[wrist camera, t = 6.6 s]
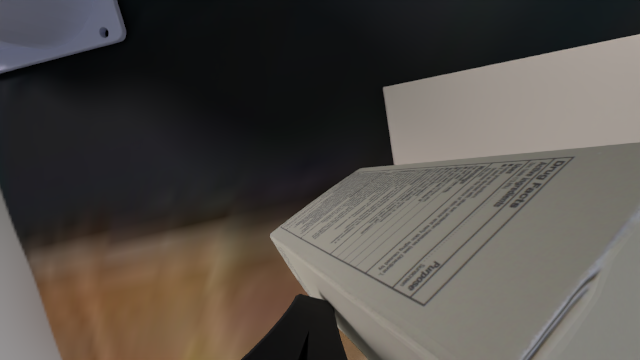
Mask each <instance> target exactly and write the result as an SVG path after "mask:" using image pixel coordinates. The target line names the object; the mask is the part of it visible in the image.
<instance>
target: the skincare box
mask: <svg viewBox="0 0 640 360" xmlns="http://www.w3.org/2000/svg"><path fill="white" fill-rule="evenodd" d="M270 237H271V239H272V241H273V242H274V244H275V246H276V247H277V249H278V251H279V252H280V254H281V255H282V257H283V258H284V260H285V262H286V263H287V265H288V266H289V268H290V269H291V271H292V272H293V274H294V275H295V277H296V278H297V280H298V281H299V283H300V284H301V285H302V287H303V288H304V290H305V291H306V292H307V293H308V295H309V296H310V297H314V298H318V299H322V300H327V301H328V302H329V303H330V304H331V305H332V306H333V308H334V311H335V317H336V322H337V326H338V328H339V329H340V330H341V331H342V332H343V333H344V334H345V335H346V336H347V337H348V338H349V339H350V340H351V341H352V343H353V344H354V345H355V346H356V347H357V348H358V349H359V350H360V351H361V352H362V353H363V354H364V355H365V356H366V357H367V359H368V360H640V142H638V143H627V144H617V145H606V146H596V147H585V148H575V149H564V150H554V151H543V152H533V153H521V154H510V155H499V156H488V157H477V158H467V159H456V160H446V161H435V162H424V163H413V164H403V165H391V166H380V167H369V168H360V169H359V170H357V171H356V172H354V173H353V174H351V175H350V176H348V177H347V178H345V179H344V180H342V181H341V182H339V183H338V184H336V185H335V186H333V187H332V188H331V189H329V190H328V191H326V192H325V193H324V194H322V195H321V196H320V197H318V198H317V199H315V200H314V201H313V202H311V203H310V204H309V205H307V206H306V207H305V208H303V209H302V210H301V211H299V212H298V213H297V214H295V215H294V216H293V217H291V218H290V219H289V220H287V221H286V222H285V223H284V224H282V225H281V226H280V227H279V228H277V229H276V230H274V231H273V232H272V233H271V234H270Z"/></svg>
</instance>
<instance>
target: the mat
mask: <svg viewBox="0 0 640 360" xmlns="http://www.w3.org/2000/svg"><path fill="white" fill-rule="evenodd" d="M383 93H384V100H385V107H386V114H387V121H388V128H389V134H390V141H391V148H392V155H393V162H394V165H403V164H413V163H424V162H435V161H446V160H456V159H467V158H477V157H488V156H499V155H510V154H521V153H533V152H543V151H554V150H564V149H575V148H585V147H596V146H606V145H617V144H627V143H638V142H640V34H638V35H634V36H629V37H624V38H619V39H614V40H609V41H605V42H600V43H595V44H590V45H585V46H580V47H576V48H571V49H566V50H561V51H556V52H551V53H547V54H542V55H537V56H532V57H527V58H522V59H518V60H513V61H508V62H503V63H498V64H493V65H489V66H484V67H479V68H474V69H469V70H464V71H460V72H455V73H450V74H445V75H440V76H435V77H431V78H426V79H421V80H416V81H411V82H406V83H402V84H397V85H392V86H387V87H383Z"/></svg>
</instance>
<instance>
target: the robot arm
mask: <svg viewBox="0 0 640 360" xmlns="http://www.w3.org/2000/svg"><path fill="white" fill-rule="evenodd" d="M106 30H108V32H109V35H108V37H106V36H105V32H106ZM125 38H126V29H125V25H124V22H123V19H122V15H121V12H120V9H119V6H118V2H117V0H0V73H4V72H8V71H12V70H15V69H19V68H23V67H27V66H31V65H34V64H38V63H42V62H46V61H50V60H53V59H57V58H61V57H65V56H69V55H73V54H76V53H80V52H84V51H88V50H92V49H95V48H99V47H103V46H107V45H111V44H114V43H118V42H121V41H123V40H124V39H125ZM241 360H347V357H346V353H345V350H344V347H343V344H342V341H341V338H340V334H339V330H338V326H337V322H336V317H335V311H334V308H333V306H332V305H331V304H330V303H329V302H328V301H327V300H322V299H318V298H314V297H310V296H306V295H302V294H299V295H297V296H296V297H295V299H294V300H293V302H292V304H291V305H290V307H289V308H288V309H287V311H286V312H285V313H284V315H283V316H282V317H281V318H280V320H279V321H278V322H277V323H276V324H275V325H274V327H273V328H272V329H271V330H270V331H269V332H268V333H267V334H266V336H265V337H264V338H263V339H262V340H261V341H260V342H259V343H258V344H257V345H256V346H255V347H254V348H253V349H252V350H251V351H250V352H249V353H248V354H246V355H245V356H244V357H243V358H242V359H241Z"/></svg>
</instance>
